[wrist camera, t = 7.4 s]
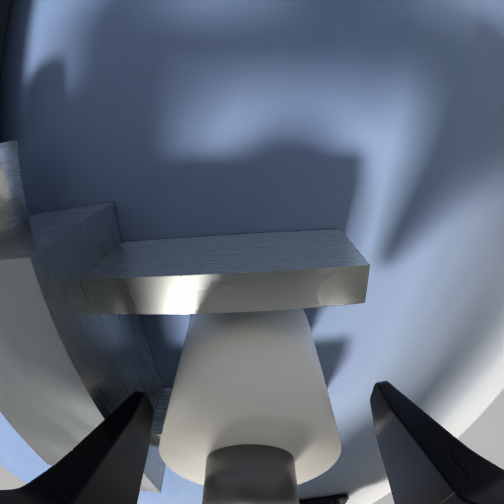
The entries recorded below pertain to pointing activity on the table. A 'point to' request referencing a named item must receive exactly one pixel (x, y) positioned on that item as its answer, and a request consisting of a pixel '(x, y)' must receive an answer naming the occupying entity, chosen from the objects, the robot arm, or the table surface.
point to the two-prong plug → (130, 307)
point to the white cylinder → (249, 408)
